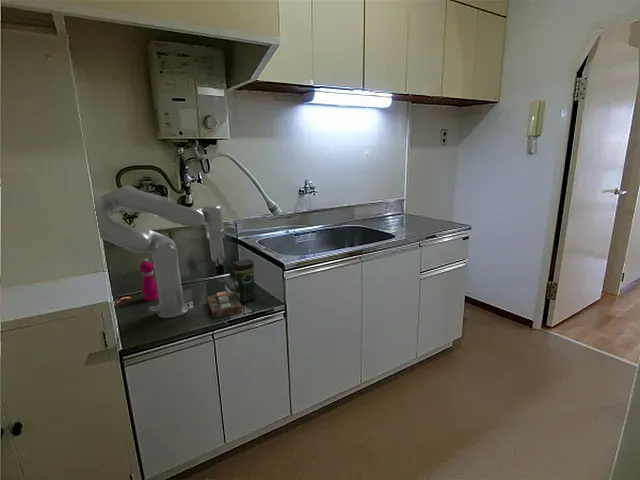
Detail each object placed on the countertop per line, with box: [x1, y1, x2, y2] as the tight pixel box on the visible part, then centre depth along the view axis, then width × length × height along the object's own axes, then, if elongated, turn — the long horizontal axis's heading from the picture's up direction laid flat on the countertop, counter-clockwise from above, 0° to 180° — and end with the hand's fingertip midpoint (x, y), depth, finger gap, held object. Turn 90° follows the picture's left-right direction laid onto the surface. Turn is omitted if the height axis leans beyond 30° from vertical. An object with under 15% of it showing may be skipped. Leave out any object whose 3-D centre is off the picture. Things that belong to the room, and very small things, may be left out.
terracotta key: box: [216, 290, 227, 299], centre depth 168 cm, size 4×4×3 cm
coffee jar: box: [232, 258, 258, 303], centre depth 171 cm, size 10×8×19 cm
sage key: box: [220, 303, 231, 309], centre depth 159 cm, size 4×4×3 cm
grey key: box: [218, 296, 229, 304], centre depth 163 cm, size 4×4×3 cm
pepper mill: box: [139, 257, 159, 302], centre depth 175 cm, size 7×7×20 cm
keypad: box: [207, 291, 243, 319], centre depth 164 cm, size 12×18×3 cm, turn 23°
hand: (220, 274), depth 166 cm, fingers closed
